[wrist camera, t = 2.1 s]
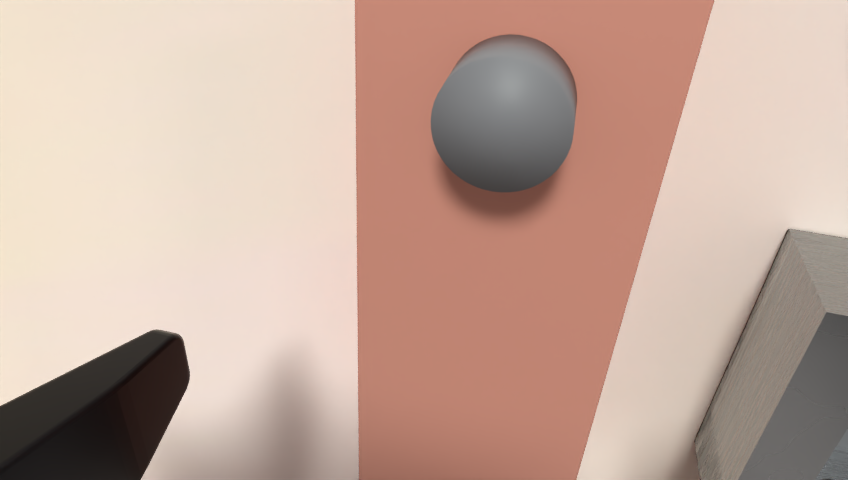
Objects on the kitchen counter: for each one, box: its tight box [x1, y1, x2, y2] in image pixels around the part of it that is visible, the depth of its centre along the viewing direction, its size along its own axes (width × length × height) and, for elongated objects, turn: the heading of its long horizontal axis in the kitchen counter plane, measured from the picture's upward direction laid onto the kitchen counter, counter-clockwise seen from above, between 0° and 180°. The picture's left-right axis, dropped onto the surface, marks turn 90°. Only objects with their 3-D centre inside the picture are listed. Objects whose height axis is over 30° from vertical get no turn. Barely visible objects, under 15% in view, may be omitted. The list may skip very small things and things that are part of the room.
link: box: [355, 0, 714, 480], centre depth 11 cm, size 12×4×6 cm, turn 177°
